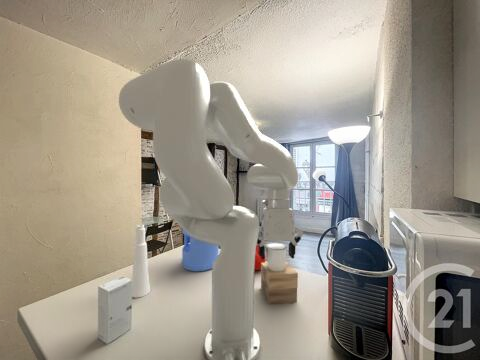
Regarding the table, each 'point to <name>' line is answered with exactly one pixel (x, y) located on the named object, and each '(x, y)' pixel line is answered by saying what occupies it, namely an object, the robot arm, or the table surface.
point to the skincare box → (114, 309)
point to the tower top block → (279, 277)
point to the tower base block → (279, 294)
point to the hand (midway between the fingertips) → (276, 257)
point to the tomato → (258, 259)
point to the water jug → (198, 254)
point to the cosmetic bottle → (140, 265)
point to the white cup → (276, 256)
